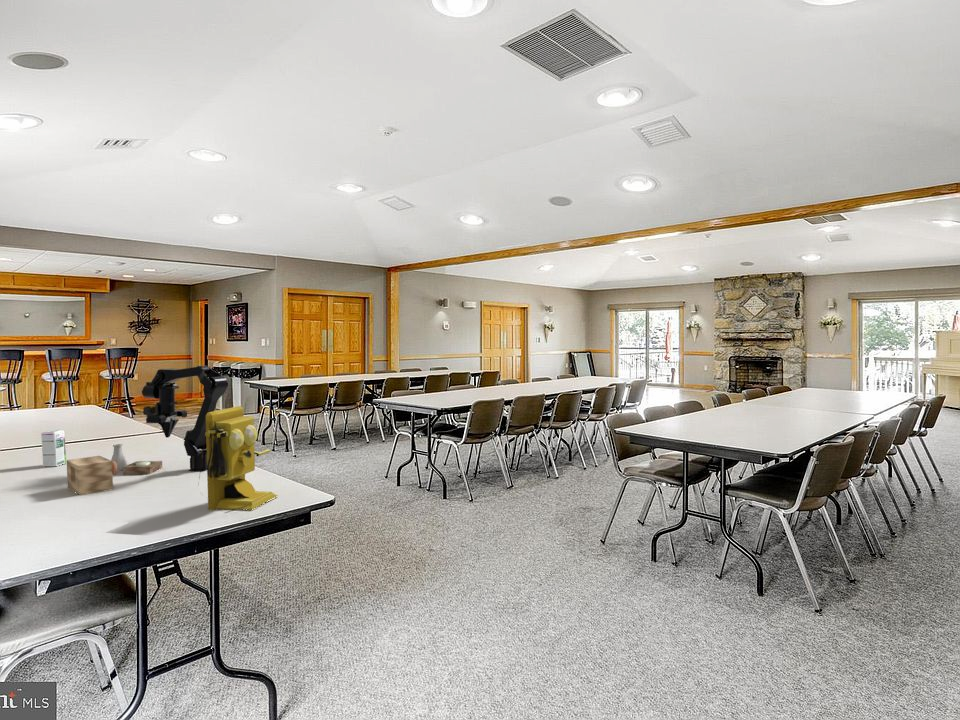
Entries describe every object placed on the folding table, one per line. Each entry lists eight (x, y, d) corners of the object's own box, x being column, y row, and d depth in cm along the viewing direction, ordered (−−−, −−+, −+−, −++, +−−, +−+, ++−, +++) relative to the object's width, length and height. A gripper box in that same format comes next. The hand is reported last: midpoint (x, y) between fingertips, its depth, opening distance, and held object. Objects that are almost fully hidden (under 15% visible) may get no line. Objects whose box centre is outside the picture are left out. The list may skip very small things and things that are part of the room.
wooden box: (100, 482, 212) (99, 455, 211) (113, 489, 203) (112, 460, 202) (67, 488, 204) (66, 460, 204) (79, 495, 195) (78, 465, 195)
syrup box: (56, 466, 238) (55, 432, 238) (42, 467, 238) (40, 432, 238) (66, 463, 244) (65, 429, 243) (52, 463, 244) (51, 429, 243)
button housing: (162, 468, 235) (162, 460, 234) (150, 474, 225) (149, 466, 224) (136, 468, 234) (136, 461, 234) (123, 474, 224) (123, 466, 224)
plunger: (113, 473, 211) (112, 460, 211) (117, 475, 208) (117, 462, 207) (86, 477, 205) (86, 464, 204) (90, 479, 201) (90, 466, 201)
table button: (152, 468, 232) (152, 461, 232) (146, 471, 227) (146, 464, 227) (140, 469, 232) (139, 461, 231) (133, 472, 227) (133, 464, 226)
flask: (133, 467, 237) (132, 443, 236) (120, 471, 230) (119, 446, 229) (116, 466, 238) (115, 442, 237) (103, 471, 230) (102, 446, 230)
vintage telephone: (233, 520, 167) (231, 417, 166) (190, 518, 170) (187, 416, 168) (288, 491, 198) (286, 404, 197) (251, 490, 200) (249, 404, 199)
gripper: (162, 396, 246) (163, 432, 247) (132, 401, 227) (133, 441, 228) (187, 397, 245) (188, 433, 246) (159, 402, 226) (160, 441, 227)
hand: (167, 437), depth 237 cm, fingers closed
